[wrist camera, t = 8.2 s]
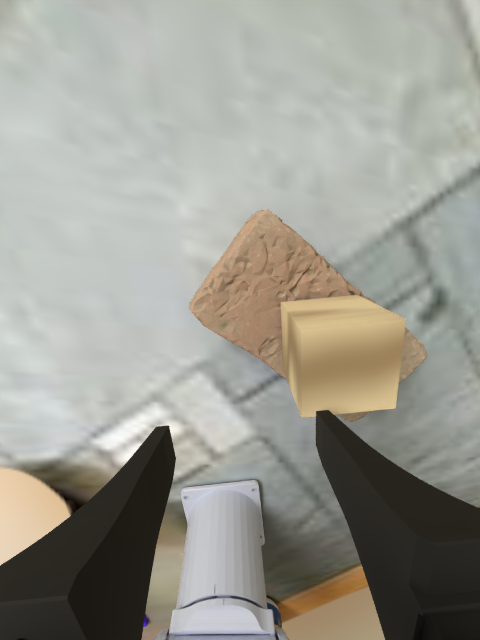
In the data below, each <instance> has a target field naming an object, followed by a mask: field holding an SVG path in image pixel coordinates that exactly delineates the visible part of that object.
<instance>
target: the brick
mask: <svg viewBox="0 0 480 640" xmlns="http://www.w3.org/2000/svg"><path fill="white" fill-rule="evenodd" d="M350 295H359V296H361V297H363V298H365V299H367V300H369V301H371V302H373V303H375V302H374V301H373V300H371V299H369V298H367V297H366V296H364V295H362V292H361V291H359V290H358V289H356V288H355V287H354V286H353V285H351V284H350V283H349V282H347V281H346V280H345V279H344V278H343V277H342V275H341V274H339V273H338V272H337V270H335V269H334V268H333V267H332V266H331V265H330V264H329V263H328V262H327V261H326V260H325V259H324V257H323V256H321V255H319V254H317V252H316V250H315V249H314V248H313V247H312V246H311V245H310V244H309V243H307V242H306V241H305V240H304V239H303V238H302V237H301V236H299V235H298V234H297V233H296V232H295V231H294V230H293V229H292V228H290V227H289V226H288V225H286V224H284V223H282V220H281V219H280V218H279V217H277V216H276V215H275V214H273V213H272V212H271V211H269V210H266V211H264V210H261V211H258V212H256V213H255V214H254V215H252V216H251V217H250V218H249V219H248V220H247V222H246V224H245V225H244V226H243V227H242V229H241V230H240V231H239V232H238V234H237V236H236V237H235V238H234V239H233V241H232V243H231V244H230V246H229V247H228V249H227V250H226V252H225V253H224V254H223V256H222V257H221V258H220V260H219V261H218V263H217V264H216V265H215V266H214V267H213V269H212V270H211V272H210V274H209V275H208V276H207V277H206V279H205V281H204V283H203V284H202V285H201V287H200V288H199V289H198V291H197V292H196V294H195V295H194V297H193V299H192V300H191V301H190V305H189V309H190V310H191V312H192V313H193V314H194V316H195V317H196V318H197V319H198V320H199V321H200V322H201V323H202V324H203V326H205V327H207V328H208V329H210V330H212V331H213V332H215V333H217V334H218V335H220V336H222V337H223V338H225V339H227V340H229V341H231V342H233V343H234V344H236V345H238V346H239V347H241V348H243V349H245V350H247V351H248V352H250V353H251V354H252V355H254V356H256V357H258V358H260V359H262V360H263V361H264V362H265V363H267V364H268V365H269V366H270V367H271V368H272V369H274V370H275V371H276V372H277V373H279V374H280V375H281V376H283V377H284V378H285V379H286V376H285V373H284V371H283V349H282V324H281V302H288V301H298V300H308V299H319V298H329V297H340V296H350ZM375 304H376V303H375ZM426 356H427V353H426V351H425V350H424V346H423V344H422V343H421V342H420V341H419V340H418V339H416V338H415V337H414V336H413V335H412V334H411V333H410V331H409V330H407V329H406V328H405V334H404V342H403V350H402V359H401V367H400V375H399V383H400V382H401V381H402V380H405V379H406V378H407V377H408V376H409V375H410V374H411V373H412V372H413V371H414V369H415V368H416V367H417V366H419V365H420V364H421V363H422V362H423V361H424V360H425V358H426ZM399 383H398V384H399ZM368 412H371V411H365V412H356V413H346V414H338V415H340V416H341V417H342V418H344V419H345V420H348V421H351V422H352V421H355V420H358V419H360V418H362V417H364V416H365V415H366V414H367V413H368Z"/></svg>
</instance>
